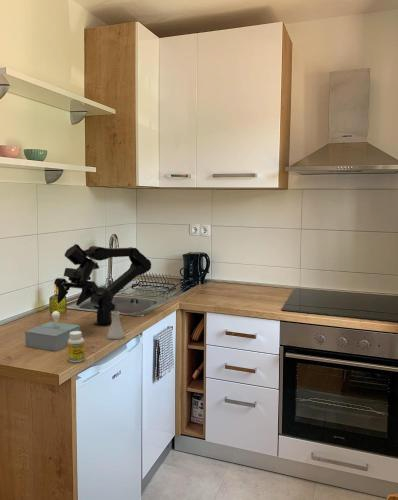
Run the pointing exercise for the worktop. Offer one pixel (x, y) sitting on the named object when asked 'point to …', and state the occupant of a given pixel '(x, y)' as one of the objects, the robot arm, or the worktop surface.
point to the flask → (115, 328)
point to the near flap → (59, 325)
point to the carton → (47, 338)
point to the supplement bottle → (76, 347)
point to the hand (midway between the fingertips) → (67, 303)
